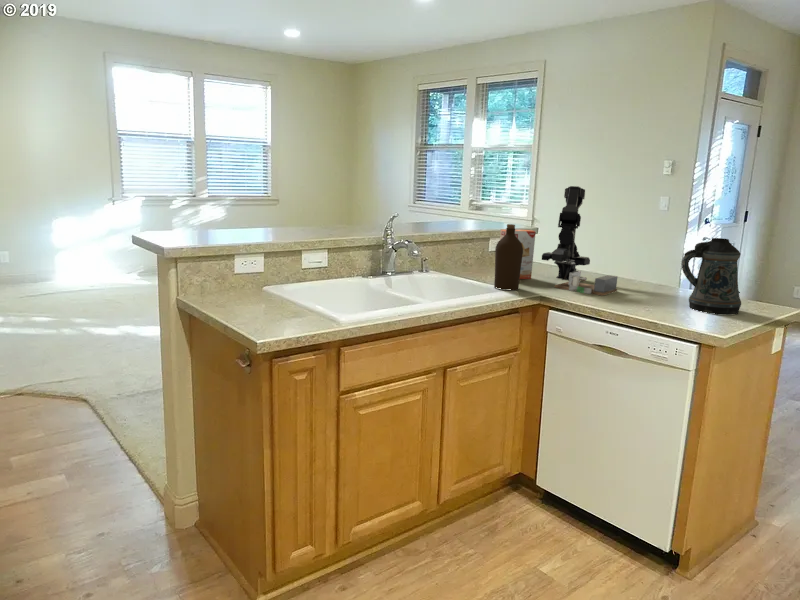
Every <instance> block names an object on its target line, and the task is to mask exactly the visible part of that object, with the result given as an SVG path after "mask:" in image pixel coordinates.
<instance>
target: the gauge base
mask: <svg viewBox="0 0 800 600" xmlns="http://www.w3.org/2000/svg"><path fill="white" fill-rule="evenodd" d="M568 283H569V281H566V282H561V283H558V284H555V285H554V289H559V290H560V289H561V290H567V291H571V292H575V293H580V294H581V293H582V294H587V295H596V296H597V295H598V296H606V295H609V293H610V294H612V292H613V293H616V292H617V291H618V288H616V289H614V290H611V291H608V292H605V293H602V292H596V291H594V286H595V284H590V283H583V282H580V283H579V286H573V285H568ZM615 291H616V292H615Z"/></svg>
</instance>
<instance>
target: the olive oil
mask: <svg viewBox="0 0 800 600" xmlns="http://www.w3.org/2000/svg"><path fill="white" fill-rule="evenodd" d="M505 230H506V235H505V236H504V237H503V238H502V239H501V240H500V239H499V240H498V241H497V243H496V246H495V248H494V249H495V251H494V252H495V253H494V254H495V255H494V257H495V258H494V260H495V261H494V282H493V285H494V287H493V288H495V287H497V288H501V289H511V290H510V291H518V290H519V286H520V279H519V278H520V270H521V263H522V255H523V246H522V244H521V242H520V241H519V240H518V238H517V237H516V236H515V230H516V224H511V223H509V224H506V228H505Z"/></svg>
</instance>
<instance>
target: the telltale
mask: <svg viewBox="0 0 800 600" xmlns="http://www.w3.org/2000/svg"><path fill="white" fill-rule="evenodd" d="M573 286H579V277H578V276H574V277H573Z"/></svg>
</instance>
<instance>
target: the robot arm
mask: <svg viewBox="0 0 800 600" xmlns="http://www.w3.org/2000/svg"><path fill="white" fill-rule="evenodd" d="M563 196H564V199H565V203H566V205H565V206H564V207H562V210H561V212H560V213H559V216H558V217H559V218H558V224H557V228H561V229H560V232H559V233H558V241H559V243H558V244H557V248H556V249H554V250H553V251H552V252H544V253H542V255H541V260H542V261H547V262H548V261H550V260H552V261H553V263H554V264H555V265H556V266H557V268H558V275H557V276H556V279H561V280H564V281H565V280H568V281H569V273H570V272H574V271H577V268H576V267H577V266H589V265H590V264H591V263H590V262H591V259H590V257H589V256H581V255H580V254H579V251H578V247H577V245H576V242H575V241H576V230H577V229H578V228H579V227H580V226H581V219H582V217H581V214H580V213H579V208H581V206H582V205H583V203H584V202H583V200H585V199H586V198H585V197H586V189H584V188H581V186H577V185H576V186H575V185H574V186H572V185H570V186H568V187H566V188H564V195H563Z"/></svg>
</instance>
